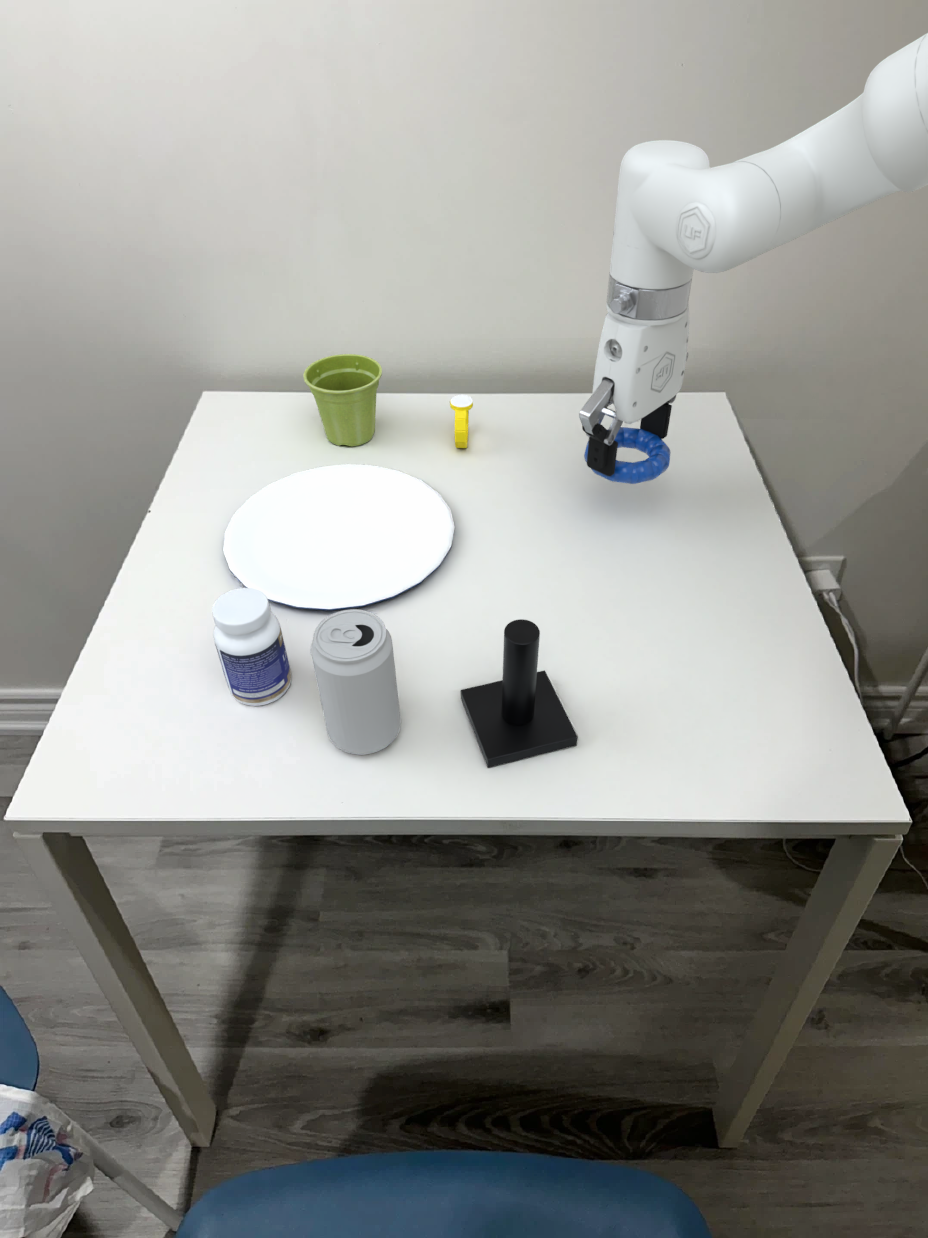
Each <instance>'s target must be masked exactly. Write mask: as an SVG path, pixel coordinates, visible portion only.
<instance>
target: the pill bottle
mask: <svg viewBox="0 0 928 1238" xmlns="http://www.w3.org/2000/svg"><path fill="white" fill-rule="evenodd" d="M211 614H212V618H213V623H214V627H213V633H212V638H213V642H214V646H215V649H216V652H217V655H218V658H219V662H220V665H221V668H222V669H221V670H222V671H223V675H224V678H225V682H226V685H227V688H228V691H229V692H230V695H231V696H232V698H234V699H235V700H236V701H237V702H238V703H241V704H243V705H246V706H255V707H257V706H264V705H269V704H271V703H273V702H276V701H277V700H279V699H280V698H282V697H283V696H284V695H285V693H286V692H287V691H288V689H289V688H290V686H291V683H292V671H291V667H290V666H291V665H290V662H289V657H288V654H287V649H286V645H285V641H284V636H283V632H282V628H281V627H282V626H281V624H280V621H279V618H278V617H277V616H276V614H275V613H274V612H273V611H272V609H271V606H270V602H269V600H268V598H267V597H266V595H265V594H264V593H263V592H261V591H259V590H257V589H253V588H246V587H238V588H234V589H231V590H228V591H226V592H224V593H223V594H221V595H220V596H219V597H217V599H216V600H215V602H214V603H213V605H212V608H211Z"/></svg>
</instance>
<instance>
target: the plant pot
mask: <svg viewBox="0 0 928 1238" xmlns="http://www.w3.org/2000/svg"><path fill="white" fill-rule="evenodd" d="M382 375H383V368H382V366H381V363H379V362H378V361H377V360H375V359H374V358H372V357H370V356H367V355H364V354H363V355H362V354H356V353H342V354H333V355H329V356H325V357H322V358H320V359H316V360H315V361H313V362H312V363H310V364H309V365H308V366H307V367H306V368H305V370H304V371H303V375H302V376H303V381H304V383H305V385H306V386H307V387H308V388H309V390H310V392H311V395H313V398H314V400H315V403H316V407H317V411H318V413H319V417H320V420H321V423H322V426H323V429H324V433H325V436H326V439H327V440H328V442H330V443H331V444H333V445H335V446H343V445H345V446H348V447H356V446H361V445H363V444H366V443H367V442H370V441H371V440H372V439H373V436H374V434H375V431H376V412H377V392H378V387H379V385H380V379H381V378H382Z"/></svg>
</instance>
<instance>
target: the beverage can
mask: <svg viewBox="0 0 928 1238" xmlns="http://www.w3.org/2000/svg"><path fill="white" fill-rule="evenodd" d="M393 645H394V644H393V638H392V635H391V633H390V631H389V630H388V628H387V627H386V625H385V623H384V621H383V620H382V619H381V618H380V617H379V616H378V615H376V613H375V614H374V613H373V612H370V611H368V610H364V609H359V608H358V609H357V608H349V609H342V610H340V611H336V612H333V613H332V614H329V615H327V616H326V617H325V618H324V619H322V620H321V621H320V622H319V623H318V624H317V626H316V628H315V629H314V632H313V637H312V641H311V645H310V655H311V661H312V667H313V671H314V676H315V680H316V685H317V690H318V694H319V699H320V704H321V709H322V714H323V718H324V723H325V728H326V733H327V736H328V738H329V740H330V741H331V743H332V744H333V745H334V746H335V748H337V749H339V750H341V752H345V753H348V754H352V755H359V756H361V755H370V754H374V753H377V752H379V751H382V750H384V749H385V748H387V747H388V746H390V745H391V744H392V742H394V740H395V739H396V738H397V737H398V735H399V733H400V730H401V724H402V718H401V709H400V701H399V700H400V699H399V690H398V682H397V673H396V672H397V671H396V664H395V652H394V646H393Z"/></svg>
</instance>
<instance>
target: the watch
mask: <svg viewBox="0 0 928 1238" xmlns="http://www.w3.org/2000/svg"><path fill="white" fill-rule="evenodd" d="M473 406H474V399H473V397H471V396H470V395H467V394H456V395H454V396H452V397H451V398H450V400H449V407H450V409H451V410H453V411H454V447H455V449H467V448H468V443H469V442H468V441H469V425H470V424H469V423H470V422H469V419H470V417H469V416H470V415H469V414H470V413H469V411H470V410H472V408H473Z"/></svg>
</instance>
